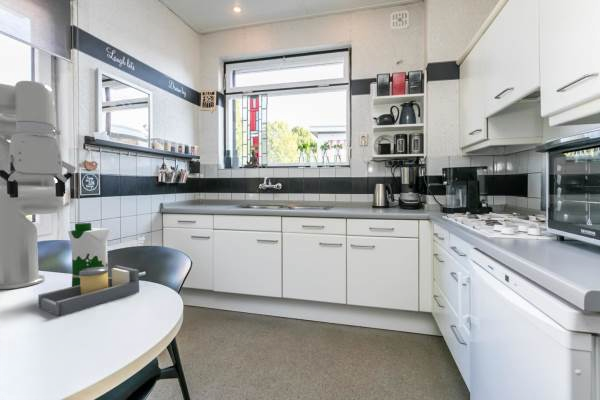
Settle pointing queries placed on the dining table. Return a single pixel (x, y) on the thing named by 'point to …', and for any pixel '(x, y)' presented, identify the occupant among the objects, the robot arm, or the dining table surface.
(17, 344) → the dining table surface
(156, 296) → the dining table surface
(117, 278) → the pusher
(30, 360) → the dining table surface
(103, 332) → the dining table surface
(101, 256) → the milk carton
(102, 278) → the honey jar
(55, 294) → the grey open rectangular box
